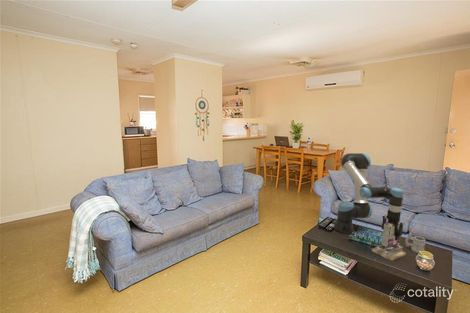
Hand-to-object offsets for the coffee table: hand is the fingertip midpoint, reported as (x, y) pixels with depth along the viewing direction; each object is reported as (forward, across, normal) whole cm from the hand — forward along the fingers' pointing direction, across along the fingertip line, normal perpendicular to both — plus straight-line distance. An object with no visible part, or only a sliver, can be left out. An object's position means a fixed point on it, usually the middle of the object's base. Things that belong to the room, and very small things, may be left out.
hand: (389, 242), depth 171 cm
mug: (+8, +6, +21) cm, 23 cm away
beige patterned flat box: (+8, 0, 0) cm, 8 cm away
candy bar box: (+2, 0, 0) cm, 2 cm away
